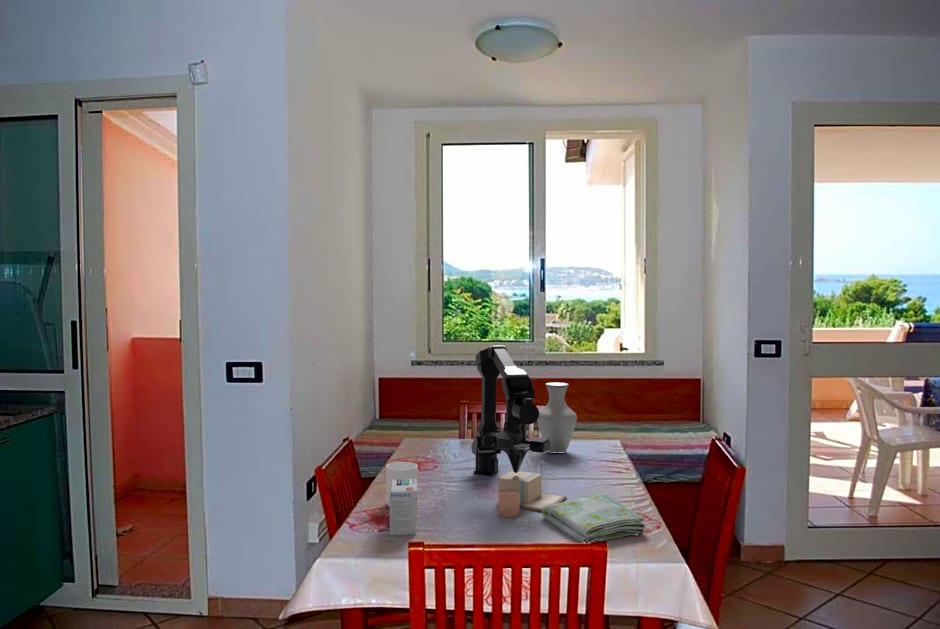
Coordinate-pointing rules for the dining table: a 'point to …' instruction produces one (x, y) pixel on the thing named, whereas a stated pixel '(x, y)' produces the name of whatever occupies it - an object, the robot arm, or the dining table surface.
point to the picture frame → (543, 502)
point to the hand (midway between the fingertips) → (516, 472)
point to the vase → (557, 418)
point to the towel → (594, 518)
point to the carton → (523, 485)
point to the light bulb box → (403, 507)
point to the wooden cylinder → (509, 503)
